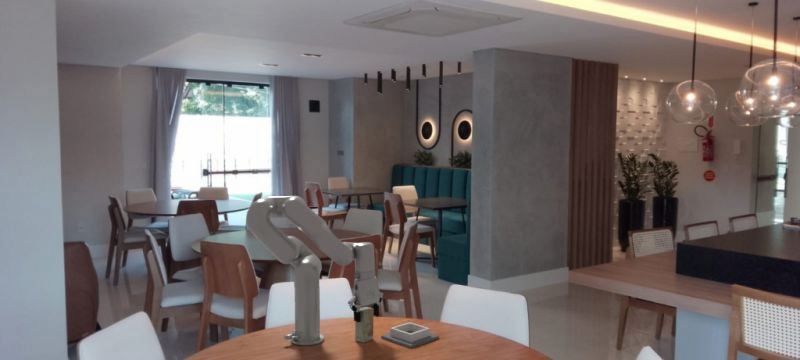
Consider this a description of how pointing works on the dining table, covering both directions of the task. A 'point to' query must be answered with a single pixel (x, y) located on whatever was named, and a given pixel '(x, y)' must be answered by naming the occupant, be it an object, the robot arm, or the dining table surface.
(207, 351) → the dining table surface
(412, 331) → the holder board
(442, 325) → the dining table surface
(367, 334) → the skincare box
